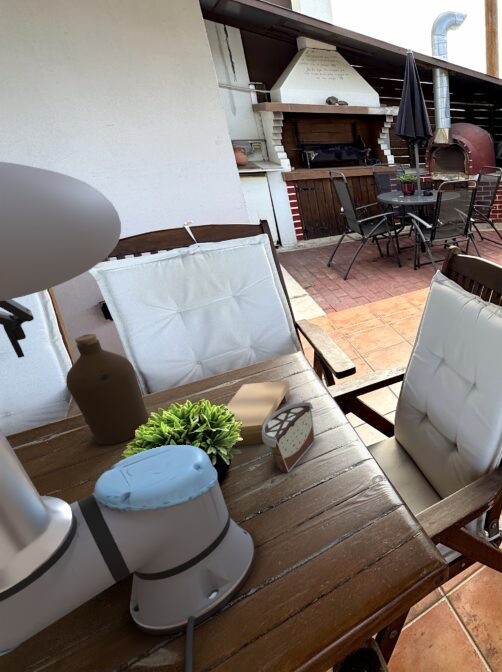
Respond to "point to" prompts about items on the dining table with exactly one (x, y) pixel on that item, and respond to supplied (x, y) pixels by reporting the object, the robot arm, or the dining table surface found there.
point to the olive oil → (106, 392)
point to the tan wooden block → (257, 407)
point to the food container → (289, 434)
